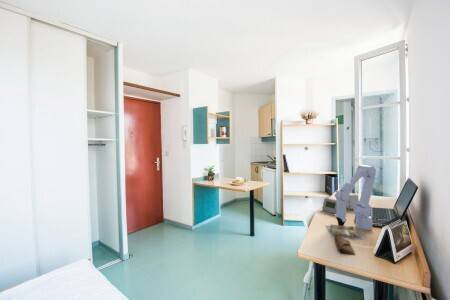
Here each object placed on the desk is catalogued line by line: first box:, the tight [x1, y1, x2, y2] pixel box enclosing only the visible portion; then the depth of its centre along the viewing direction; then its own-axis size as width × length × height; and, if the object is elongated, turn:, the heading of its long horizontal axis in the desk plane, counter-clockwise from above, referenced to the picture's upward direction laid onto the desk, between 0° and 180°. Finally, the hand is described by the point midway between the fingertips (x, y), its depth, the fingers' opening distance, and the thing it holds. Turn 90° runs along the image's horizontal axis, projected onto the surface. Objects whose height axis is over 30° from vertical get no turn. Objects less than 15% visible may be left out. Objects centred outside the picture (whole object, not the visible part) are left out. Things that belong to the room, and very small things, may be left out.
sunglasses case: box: [334, 235, 356, 256], centre depth 128 cm, size 18×7×7 cm, turn 162°
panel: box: [329, 223, 359, 238], centre depth 144 cm, size 14×10×3 cm
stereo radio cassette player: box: [335, 189, 359, 210], centre depth 203 cm, size 21×8×20 cm, turn 8°
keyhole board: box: [325, 224, 364, 241], centre depth 146 cm, size 18×19×4 cm
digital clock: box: [321, 197, 337, 215], centre depth 187 cm, size 16×9×11 cm, turn 22°
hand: (340, 228), depth 150 cm, fingers closed
